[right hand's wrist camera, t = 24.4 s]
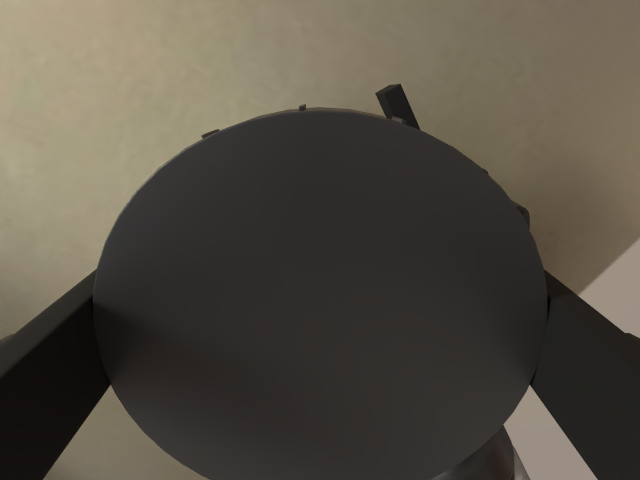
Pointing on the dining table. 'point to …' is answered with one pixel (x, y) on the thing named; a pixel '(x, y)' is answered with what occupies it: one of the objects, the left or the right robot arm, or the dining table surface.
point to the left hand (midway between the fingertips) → (277, 149)
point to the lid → (320, 302)
